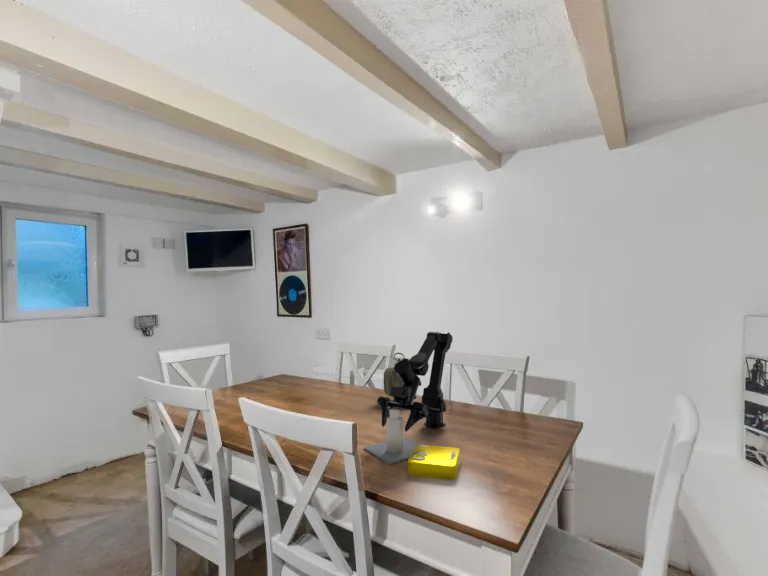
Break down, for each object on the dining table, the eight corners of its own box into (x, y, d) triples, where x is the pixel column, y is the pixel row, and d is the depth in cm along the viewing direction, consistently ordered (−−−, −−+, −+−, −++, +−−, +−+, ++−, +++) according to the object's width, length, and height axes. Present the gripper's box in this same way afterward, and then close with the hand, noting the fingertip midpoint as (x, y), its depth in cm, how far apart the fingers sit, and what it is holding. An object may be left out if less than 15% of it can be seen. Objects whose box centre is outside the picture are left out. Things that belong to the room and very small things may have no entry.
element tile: (456, 481, 119) (456, 465, 119) (406, 475, 123) (406, 460, 123) (461, 460, 133) (461, 446, 133) (416, 456, 137) (416, 442, 137)
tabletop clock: (416, 404, 198) (415, 353, 198) (404, 408, 191) (403, 355, 191) (394, 399, 207) (393, 350, 208) (382, 402, 201) (381, 352, 201)
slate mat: (404, 437, 153) (404, 436, 153) (432, 451, 140) (432, 449, 140) (363, 448, 143) (363, 447, 143) (390, 464, 130) (390, 463, 130)
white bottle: (403, 447, 142) (402, 407, 142) (403, 454, 137) (402, 412, 137) (387, 447, 143) (386, 407, 143) (386, 453, 137) (386, 412, 137)
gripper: (378, 374, 149) (361, 412, 139) (424, 379, 139) (409, 421, 129) (390, 390, 155) (374, 428, 146) (434, 397, 145) (420, 437, 136)
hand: (393, 428), depth 139 cm, fingers open, 9 cm apart
